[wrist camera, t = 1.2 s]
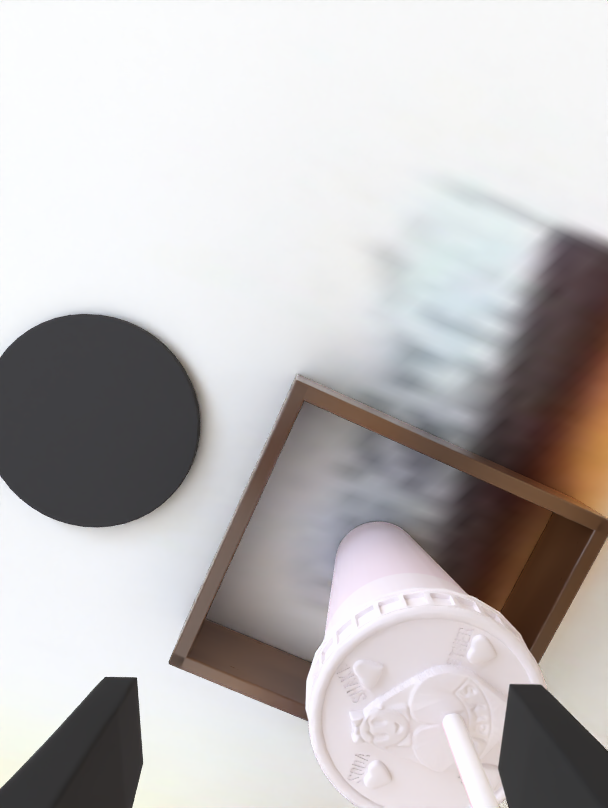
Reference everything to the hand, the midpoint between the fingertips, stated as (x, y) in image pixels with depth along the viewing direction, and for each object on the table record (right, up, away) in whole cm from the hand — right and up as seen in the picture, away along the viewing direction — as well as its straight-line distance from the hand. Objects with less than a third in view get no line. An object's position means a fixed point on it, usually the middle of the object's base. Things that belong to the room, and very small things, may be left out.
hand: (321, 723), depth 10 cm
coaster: (-9, +5, +12) cm, 16 cm away
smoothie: (+3, -1, +13) cm, 14 cm away
